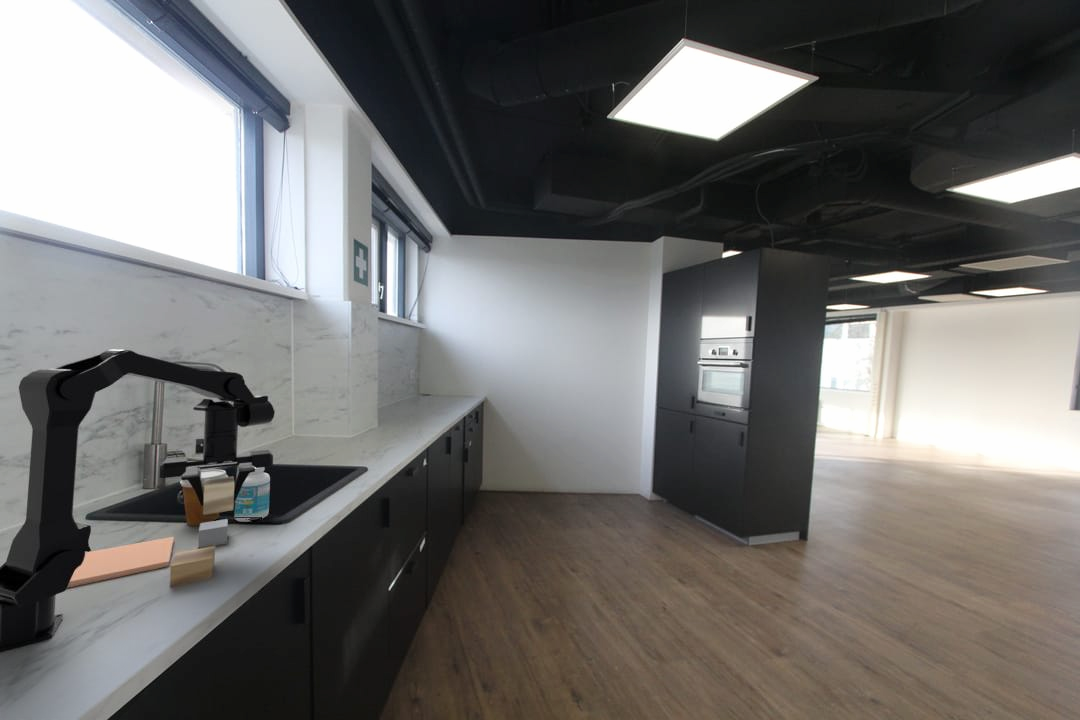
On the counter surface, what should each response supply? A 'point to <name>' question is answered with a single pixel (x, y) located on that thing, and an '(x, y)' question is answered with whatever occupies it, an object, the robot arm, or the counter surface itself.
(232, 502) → the maple block
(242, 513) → the pill bottle
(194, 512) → the disposable coffee cup
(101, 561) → the terracotta tile
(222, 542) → the grey plastic block
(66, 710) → the counter surface
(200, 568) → the oak block
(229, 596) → the counter surface
